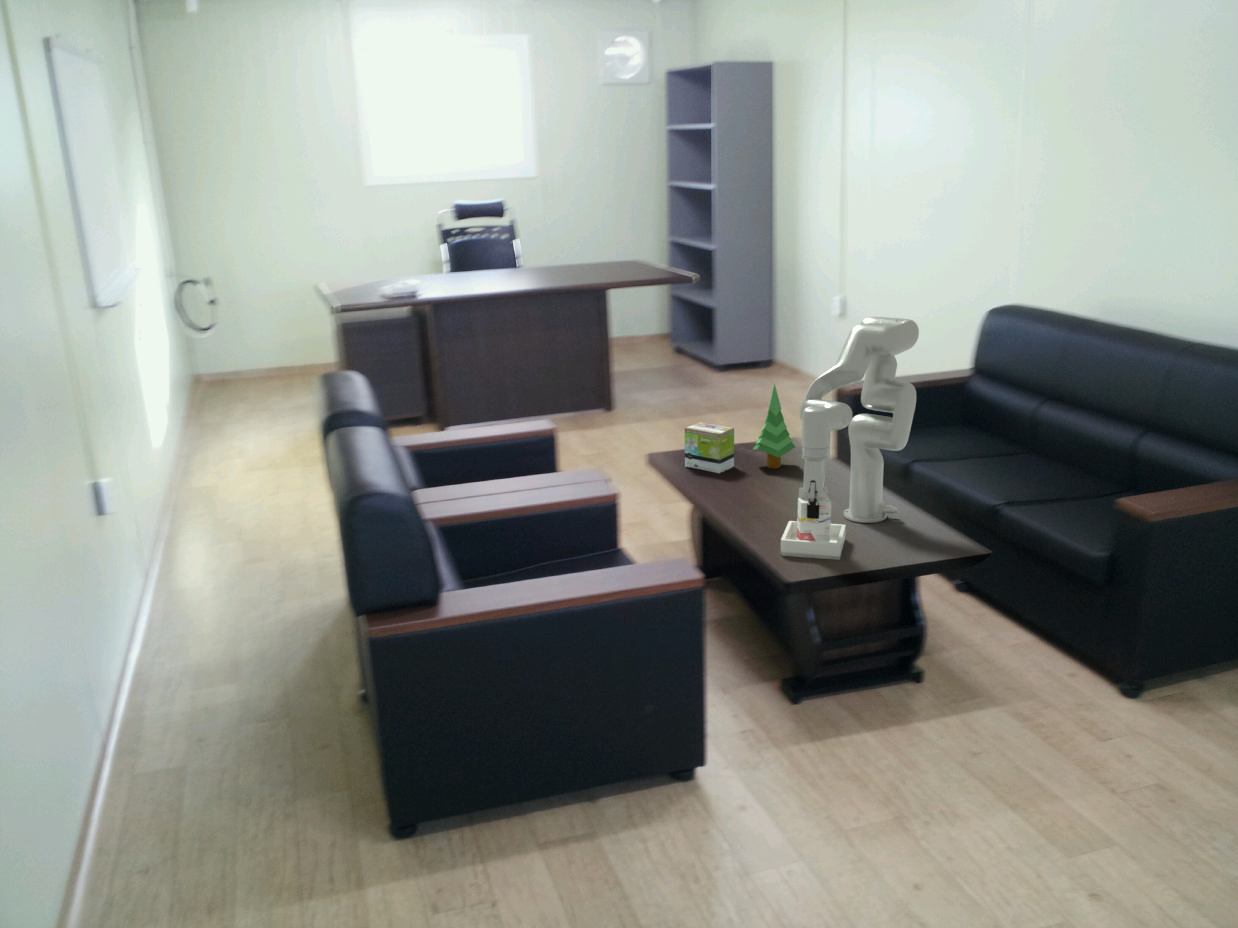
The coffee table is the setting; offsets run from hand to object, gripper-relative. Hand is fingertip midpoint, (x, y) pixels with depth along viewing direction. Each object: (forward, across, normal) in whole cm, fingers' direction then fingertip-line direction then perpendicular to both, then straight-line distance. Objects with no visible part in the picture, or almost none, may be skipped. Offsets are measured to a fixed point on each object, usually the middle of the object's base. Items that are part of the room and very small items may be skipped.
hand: (814, 513), depth 287 cm
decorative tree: (+10, -76, -23) cm, 80 cm away
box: (+10, 0, 0) cm, 10 cm away
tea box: (+10, -71, -45) cm, 85 cm away
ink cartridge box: (+8, 0, 0) cm, 8 cm away
